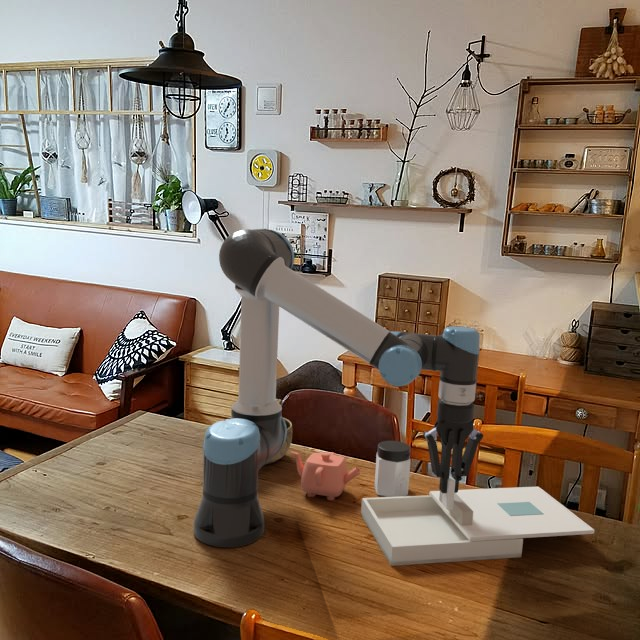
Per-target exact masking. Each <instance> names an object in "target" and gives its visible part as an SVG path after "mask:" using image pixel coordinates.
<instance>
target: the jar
mask: <svg viewBox="0 0 640 640" xmlns="http://www.w3.org/2000/svg"><path fill="white" fill-rule="evenodd" d="M411 452H412V451H411V446H410V445H409V444H408V443H405V442H402V441H400V440H399V441H397V440H385V441H381V442H378V444H377V452H376V455H375V457H376V458H375V471H374V473H375V475H374V490H375V493H376V494H377V496H380V497H400V496H409V489H410V488H409V486H410V473H411V458H410V457H411Z"/></svg>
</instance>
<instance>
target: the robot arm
mask: <svg viewBox="0 0 640 640" xmlns="http://www.w3.org/2000/svg"><path fill="white" fill-rule="evenodd" d="M218 261H219V266H220V268H221V271H222V273H223V274H224V275H225V277H226V278H227V279H228V280H230V282H232V283H233V284H234V290H235V291H236V292H237V293H238V295H240V297H241V303H240V305H241V306H240V307H241V308H240V335H239V337H240V339H239V341H240V342H239V371H238V373H239V375H238V399H237V400H235V402H233V403H232V405H231V412H230V413H231V416H230V418H227V419H224V420H218V421H216V422H214V423H212V424H211V425H210V426H209V427H208V428H207V429H206V431H205V434H204V438H203V439H204V441H203V446H202V451H203V461H202V462H203V463H202V464H203V466H202V467H203V468H202V472H203V473H202V499H200V504H199V506H198V509H197V512H196V514H195V517H194V521H193V535H194V537H195V538H196V539H197V540H198V541H200V542H201V543H203V544H206V545H209V546H212V547H218V548H219V547H220V548H237V547H243V546H247V545H249V544H252V543H254V542H257V541H258V540H260V538H261V537H262V536H263V535H264V532H265V518H264V514H263V512H262V508H261V504H260V501H259V497H258V487H259V486H258V484H259V470H261V468H262V467H264V466H265V465H267V464H266V463H267V462H268V461H269V460H270V459H271V458H272V457H274V456H275V455H276V454H277V453H278V452H279V451H280V449H281V448H282V446H283V444H284V442H285V439H286V435H287V427H286V423H285V420H284V418H285V417H283V416H282V414H283V413H282V412H283V411H282V410H283V407H281V405H280V404H279V403H278V402H277V401H276V399H277V396H276V395H277V377H278V376H277V375H278V374H277V373H278V372H277V371H278V370H277V369H278V353H279V351H278V346H279V326H280V325H279V322H280V309H281V308H282V309H283V310H284V311H286V312H287V313H289V314H290V315H292V316H293V317H295V318H297V319H298V320H299V321H302V322H303V323H305V324H306V325H307V326H308V327H309V326H310V327H311V328H313V329H314V330H316V332H319V333H321V334H322V335H323V336H325V337H326V338H328V339H330V340H332V342H335V343H336V345H337V344H338V345H339V346H341V347H342V348H344V349H345V350H347V351H348V352H350V353H351V354H353V355H354V356H356V357H358V358H359V359H361V360H363V361H364V362H365V363H367V364H369V365H370V366H372V367H373V368H374V369H376V370H377V371H379V374H380V376H381V378H382V379H383V380H384V381H385V382H386V383H388V384H389V385H391V386H393V387H405V386H407V385H409V384H411V383H412V382H414V380H416V378H418V377H419V376H420V374H421V373H422V372H421V371H422V370H423V371H431V372H439V374H440V375H439V384H438V385H439V386H438V398H439V399H438V401H437V411H436V421H435V423H434V425H433V428H432V429H431V430H429V431H427V430H424V432H422V433H423V437H424V438H425V440H426V443H427V448H428V454H429V461H430V466H431V472H432V474H433V475H434V476H436V477H437V478H439V487H438V488H439V491H441V492H442V493H443V494H442V505H443V506H444V507H445V508H446V509H453V503H454V493H457V492H458V490H459V485H460V484H459V483H460V481H462V480H463V477H468V476H469V473H470V470H471V468H472V464H473V461H474V459H475V454H476V452H477V450H478V445H479V444H480V442H481V441H482V439H483V438H484V434H483V433H482V432H481V431H479V430H478V429H475V426H474V424H473V421H474V415H475V414H474V413H475V412H474V411H475V404H474V401H475V400H476V389H477V379H478V378H477V377H478V369H479V360H480V343H481V342H480V341H481V340H480V338H481V335H480V332H479V331H478V330H476V329H475V328H472V327H468V326H467V327H466V326H455V325H454V326H453V325H452V326H447V327H445V328H444V329H443V333H442V334H439V335H438V334H437V335H434V334H427V333H426V334H425V333H416V332H408V331H407V332H406V331H404V330H403V331H391V330H388V328H385V327H384V326H382V325H380V324H379V323H377V322H376V321H374V320H373V319H371V318H369V317H368V316H366V315H364V313H363V314H362V313H361V312H359V311H358V310H357V309H355V308H353V307H352V306H350V305H348V304H347V303H345V302H344V301H342V300H340V299H339V298H337V297H336V296H335V295H333V294H331V293H329V292H328V291H326V290H325V289H323V288H322V287H320V286H318V285H317V284H315V283H314V282H312V281H310V280H309V279H307V278H306V277H304V276H302V275H301V274H300V273H298V272H296V271H294V270H293V269H292V268H293V266H294V263H295V252H294V248H293V245H292V244H291V241H290V240H288V238H287V237H286V236H285V235H284V234H282V233H281V232H279V231H276V230H273V229H267V228H256V229H254V228H253V229H240V230H236V231H234V232H232V233H231V234H230V235H228V236H227V237H226V238H225V239H224V240H223V242H222V244H221V246H220V249H219V253H218ZM282 417H283V418H282ZM437 435H438V437H439V438H440V443H441V444H440V445H441V449H440V450H441V452H440V455H439V450H438V444H437V442H436V441H437V440H438V439H437V438H438V437H437ZM466 440H467V443H466V444H465V441H466ZM465 445H466V446H465ZM450 474H451V475H450Z"/></svg>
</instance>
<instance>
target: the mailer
mask: <svg viewBox="0 0 640 640" xmlns="http://www.w3.org/2000/svg"><path fill="white" fill-rule="evenodd" d="M360 507H361V508H360V516H361V518H362V519H363V520H364V522H365V524H366V526H367V528H368V529H369V531H370V533H371V535H372V537H374V538H373V539H374V540H375V542H376V543H377V545H378V546H379V548H380V550H381V551H382V553H383V556H385V558H386V559H387V562H388V563H389V565H390V566H391V567H396V566H410V565H426V564H439V563H453V562H466V561H467V562H468V561H481V560H482V561H484V560H498V559H500V560H501V559H512V558H522V554H523V544H524V538H514V539H498V540H482V541H469V539H468V538H467V537H466V536H465V535H464V534H463V532H462V531H461V530H460V529H459V528H458V527H457V526H456V524H455V523H454V522H453V521H452V520H451V519H450V518H449V516H448V515H447V514H446V513H445V512H444V511H443V509H442V508H441V507H440V506H439V505H438V504H437V503H436V501H435V500H434V499H433V498H432V497H431V496H430V495H428V494H426V495H425V494H424V495H407V496H400V497H384V496H380V497H363V498H361V506H360Z"/></svg>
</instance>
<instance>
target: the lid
mask: <svg viewBox="0 0 640 640" xmlns="http://www.w3.org/2000/svg"><path fill="white" fill-rule="evenodd" d="M442 494H443V493H442V492H441V491H440V490H430V491H429V495H430V496H431V497H432V498H433V499H434V500H435V501H436V503H437V504H438V505H439V506H440V507H441V508H442V509H443V511H444V512H445V513H446V514H447V515H448V516H449V518H450V519H451V520H452V521H453V522H454V523H455V524H456V526H457V527H458V528H459V529H460V530H461V531H462V532H463V534H464V535H465V536H466V537H467V538H468V539H469V541H482V540H498V539H514V538H523V539H527V538H528V539H529V538H530V539H531V538H544V537H545V538H546V537H547V538H548V537H558V536H559V537H563V536H564V537H565V536H576V535H578V536H579V535H591V534H592V535H594V534H595V528H593V527H591V526H590V525H589V524H588V523H586V522H585V521H583V520H582V519H581V518H580V517H578V516H577V515H576V514H575V513H574V512H572V511H571V510H569V508H567V507H566V506H565V505H563V504H562V503H561V502H559V501H558V500H557V499H555V498H554V497H553V496H552V495H550V494H549V493H548V492H546V491H545V490H544V489H542V488H541V487H540V486H522V487H521V486H520V487H519V486H517V487H500V488H499V487H494V488H476V489H475V488H473V489H458V492H457V493H454V503H453V509H446V508H445V507H444V506H443V505H442Z"/></svg>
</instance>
